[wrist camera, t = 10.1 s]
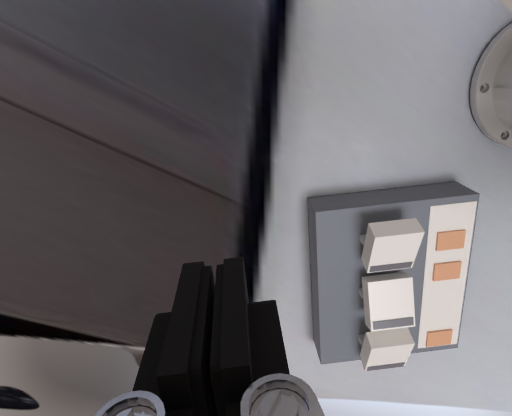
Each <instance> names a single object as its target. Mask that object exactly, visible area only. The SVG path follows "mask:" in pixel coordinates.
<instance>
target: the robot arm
mask: <svg viewBox="0 0 512 416" xmlns="http://www.w3.org/2000/svg"><path fill="white" fill-rule="evenodd" d="M480 87H481V88H480ZM470 105H471V110H472V114H473V117H474V119H475V121H476V124H477V126H478V127H479V128H480V129H481V131H482V132H483V133H484V134H485V135H486V136H487V137H489V138H490V139H491V140H493V141H495V142H498V143H500V144H503V145H506V146H510V147H512V23H510V24H509V25H508V26H506V27H505V28H504V29H503V30H502V31H501V32H500V33H499V34H498V35H497V36H496V37H495V38H494V39H493V40H492V41H491V43H490V44H489V45H488V47H487V48H486V49H485V51H484V52H483V54H482V56H481V58H480V60H479V62H478V64H477V66H476V69H475V72H474V75H473V78H472V83H471V89H470ZM94 416H324V413H323V411H322V409H321V407H320V404H319V402H318V400H317V397H316V395H315V393H314V392H313V390H312V389H311V387H310V386H309V385H308V384H307V383H305V382H304V381H303V380H302V379H300V378H297V377H295V376H293V375H290V374H289V368H288V363H287V358H286V353H285V347H284V342H283V337H282V331H281V326H280V321H279V316H278V310H277V305H276V301H275V300H270V301H261V302H253V303H249V301H248V293H247V284H246V276H245V268H244V260H243V257H237V258H228V259H224V264H221V265H217V268H216V282H215V284H214V277H213V271H212V267H211V266H205V265H204V262H203V261H202V262H193V263H185V264H183V266H182V271H181V275H180V279H179V283H178V287H177V291H176V295H175V300H174V304H173V308H172V312H168V313H159V314H157V315H156V316H155V318H154V321H153V324H152V328H151V331H150V334H149V337H148V341H147V344H146V347H145V351H144V354H143V357H142V361H141V364H140V367H139V371H138V374H137V377H136V381H135V384H134V387H133V391H132V392H128V393H125V394H122V395H119V396H117V397H115V398H114V399H112V400H110V401H109V402H107V403H106V404H105V405H104V406H103V407H102V408H101V409H99V410H98V411H97V412H96V413H95V415H94Z"/></svg>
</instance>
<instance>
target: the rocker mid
mask: <svg viewBox="0 0 512 416" xmlns="http://www.w3.org/2000/svg"><path fill="white" fill-rule="evenodd" d="M362 288H363V301H364V315H365V324H366V326H367V327H368V328H369V329H370V331H371V332H373V331H382V330H390V329H398V328H406V327H415V309H414V292H413V277H411V276H410V275H408V274H407V273H405V272H399V273H391V274H382V275H374V276H365V277H362Z"/></svg>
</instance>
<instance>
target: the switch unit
mask: <svg viewBox="0 0 512 416" xmlns="http://www.w3.org/2000/svg"><path fill="white" fill-rule="evenodd" d="M307 200H308V223H309V245H310V268H311V291H312V314H313V337H314V343H315V346H316V349H317V353H318V356H319V359H320V363H321V364H328V363H336V362H345V361H353V360H361V357H360V352H361V349H362V345H363V341H364V337H365V334H366V332H371V331H370V329H369V328H368V327H367V326H366V324H365V315H364V301H363V288H362V277H365V276H374V275H382V274H391V273H399V272H405V273H407V274H408V275H410V276H411V277H413V292H414V309H415V327H408V329H409V331H410V333H411V336H412V338H413V340H414V342H415V345H414V347H413V349H412V351H411V353H418V352H426V351H434V350H443V349H451V348H458V341H459V334H460V327H461V320H462V313H463V306H464V299H465V292H466V285H467V278H468V271H469V264H470V257H471V250H472V243H473V236H474V229H475V222H476V215H477V208H478V201H479V193H477V192H475V191H473V190H471V189H469V188H467V187H465V186H463V185H462V184H460V183H458V182H447V183H438V184H429V185H420V186H411V187H402V188H393V189H384V190H374V191H365V192H356V193H347V194H338V195H329V196H320V197H311V198H307ZM410 218H417V220H418V222H419V223H420V225H421V226H422V228H423V230H424V231H425V233H424V236H423V239H422V241H421V244H420V247H419V250H418V253H417V255H416V258H415V261H414V264H413V267H412V268H407V269H398V270H390V271H381V272H373V273H367V272H366V269H365V267H364V264H363V262H362V259H361V257H362V253H363V248H364V243H365V238H366V233H367V228H368V223H375V222H383V221H392V220H401V219H410Z"/></svg>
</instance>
